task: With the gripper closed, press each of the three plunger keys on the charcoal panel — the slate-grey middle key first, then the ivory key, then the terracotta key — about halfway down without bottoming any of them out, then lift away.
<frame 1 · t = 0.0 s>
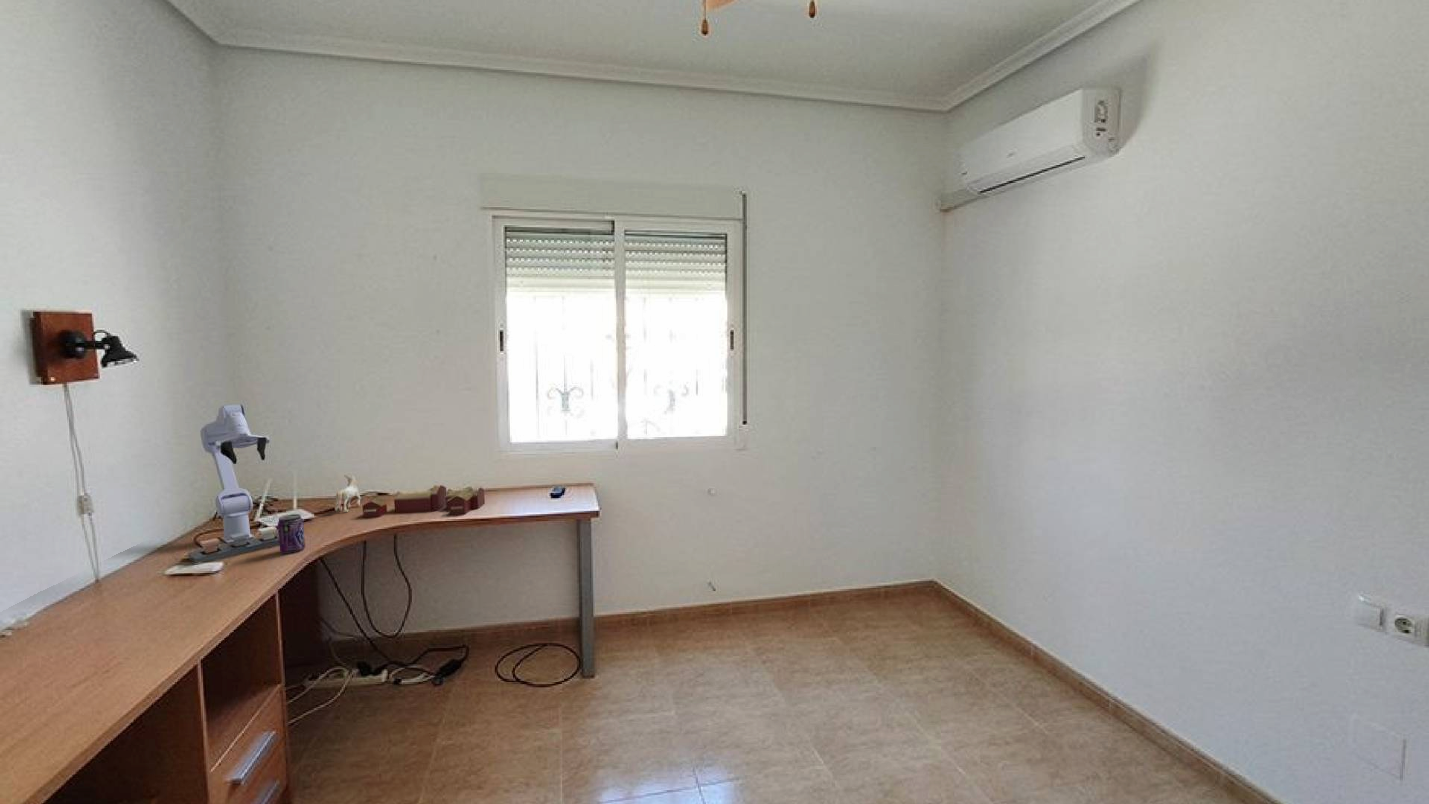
hand: (249, 460, 201), 32 cm above the table, tool tilted 50°, fingers open, 7 cm apart
terracotta key: (210, 545, 201), point 4 cm above the table, slide at 0.0 cm
beverage can: (293, 551, 206), on the table
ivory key: (267, 533, 213), point 4 cm above the table, slide at 0.0 cm
toy houses: (424, 511, 253), on the table
grey key: (239, 539, 207), point 4 cm above the table, slide at 0.0 cm
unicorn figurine: (343, 509, 259), on the table
panel: (240, 550, 208), on the table
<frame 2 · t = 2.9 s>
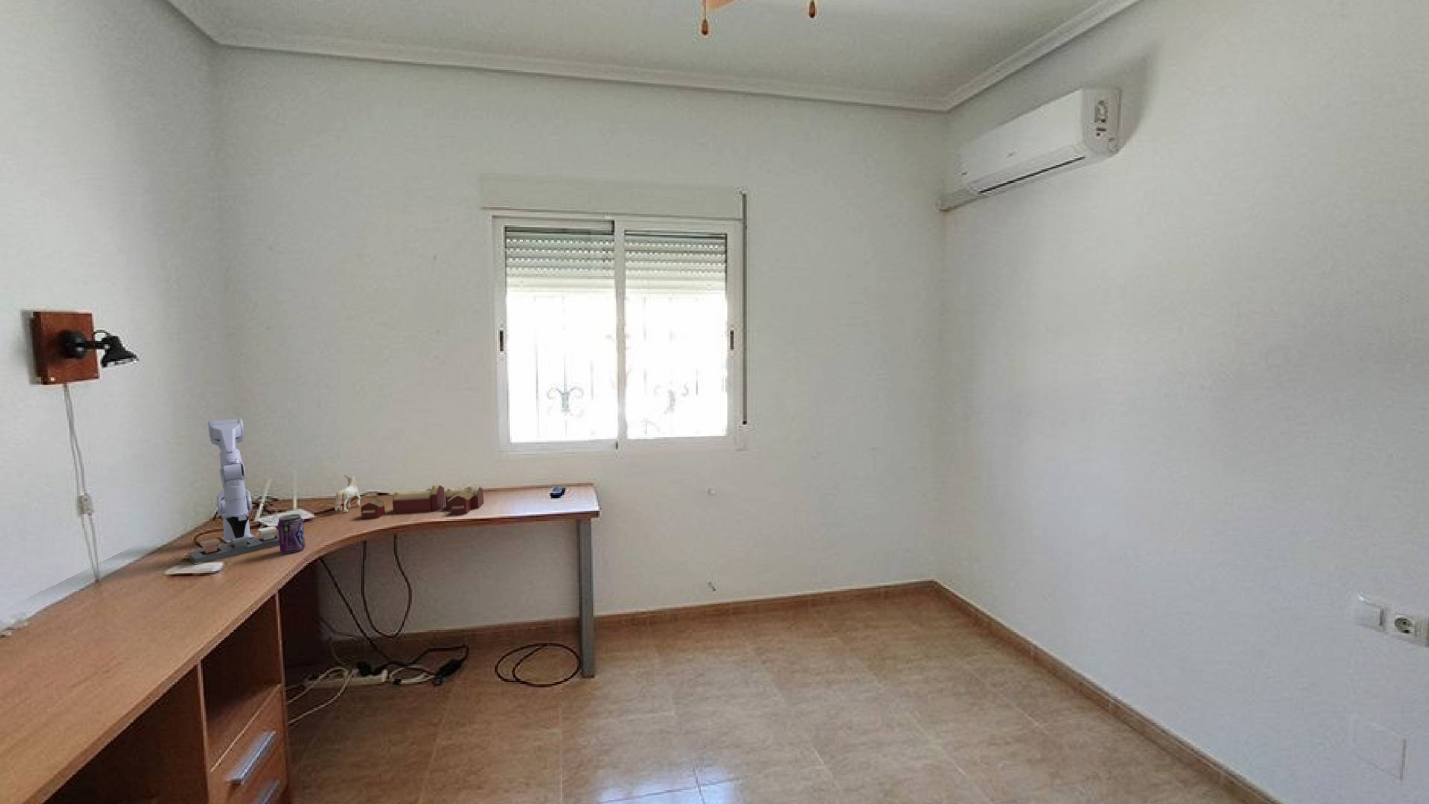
hand: (239, 537, 207), 5 cm above the table, tool pointing down, fingers closed, pressing on grey key
grey key: (240, 542, 207), point 3 cm above the table, slide at 0.9 cm, touching gripper
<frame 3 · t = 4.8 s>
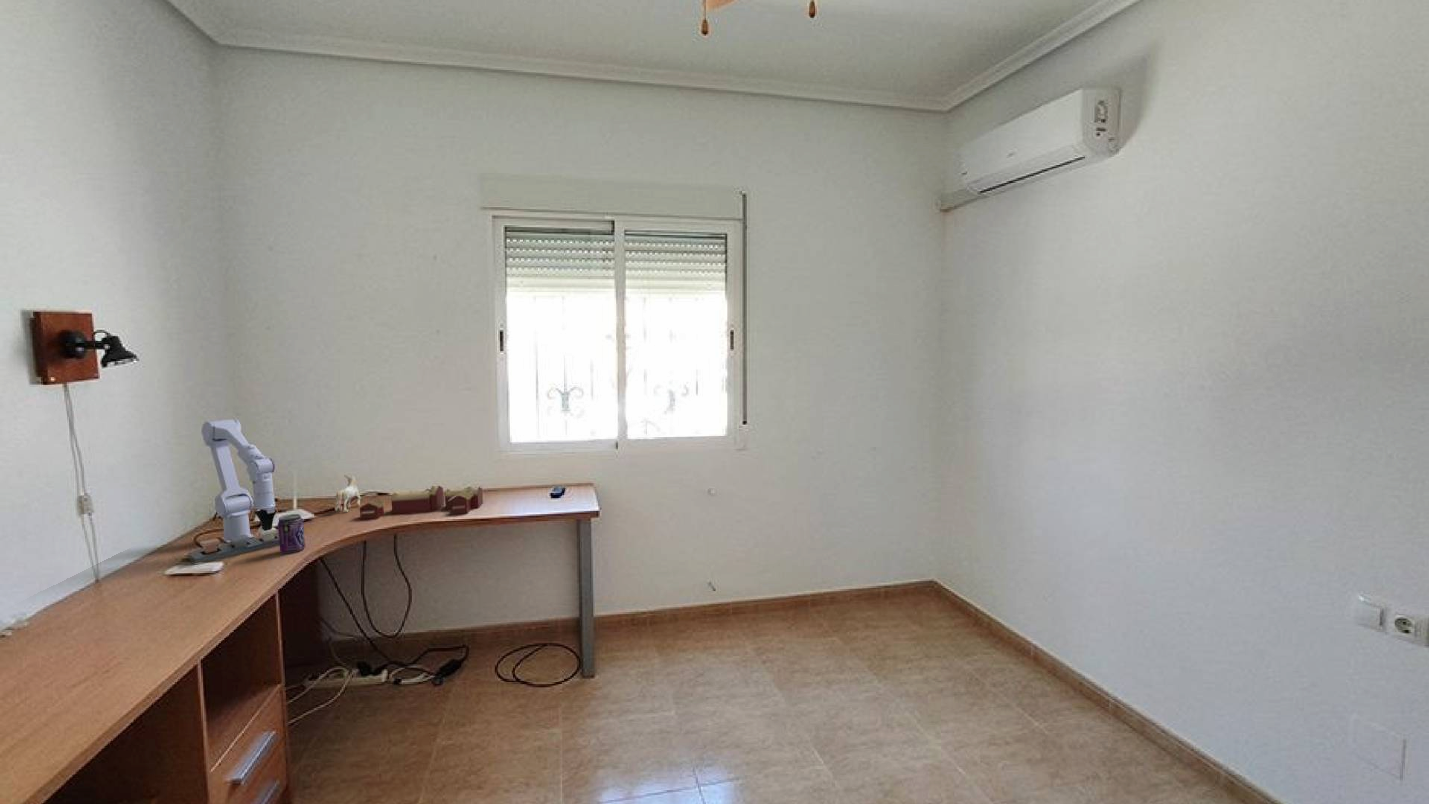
hand: (267, 529, 213), 5 cm above the table, tool pointing down, fingers closed, pressing on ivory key
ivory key: (267, 534, 213), point 4 cm above the table, slide at 0.4 cm, touching gripper
grey key: (240, 542, 207), point 3 cm above the table, slide at 0.9 cm
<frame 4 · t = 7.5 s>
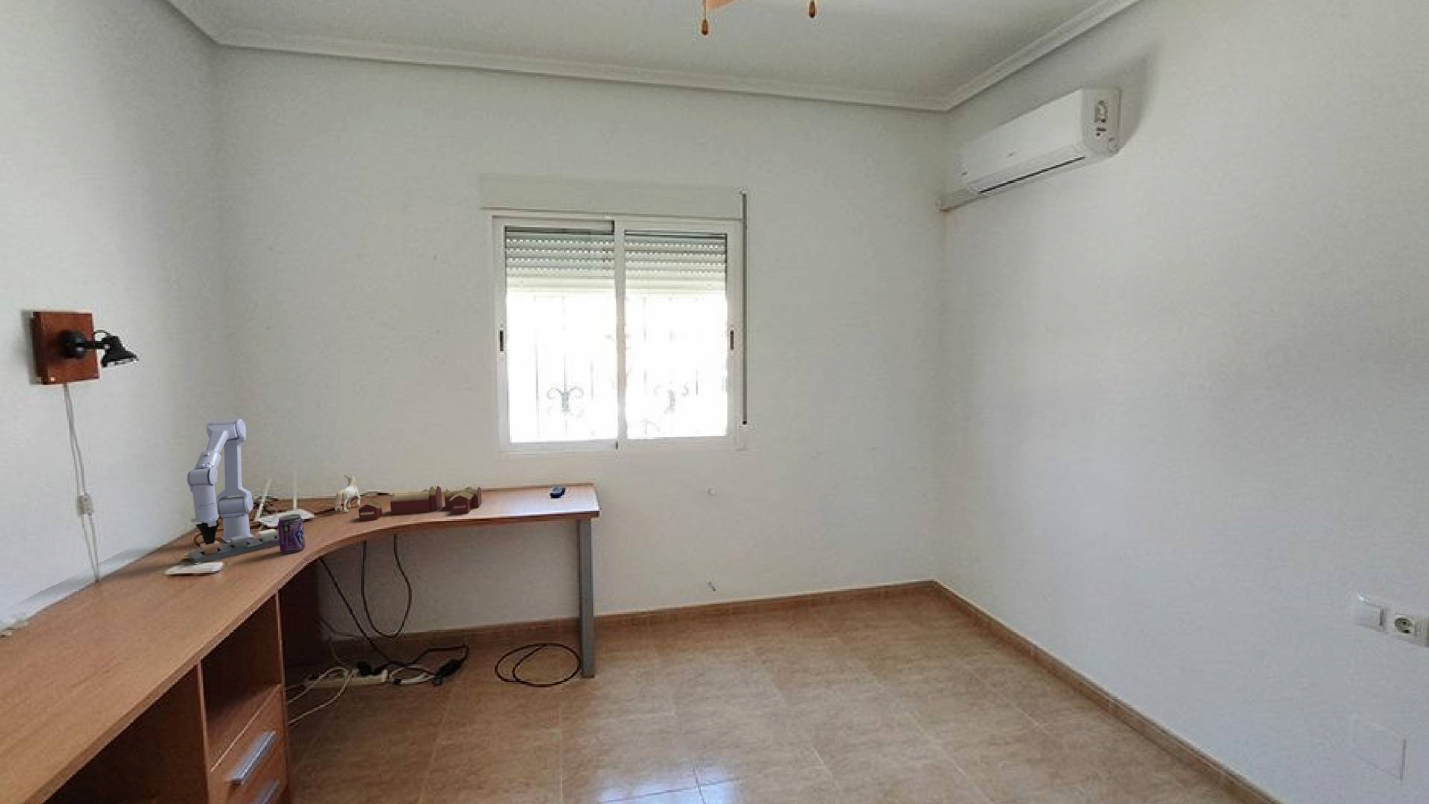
hand: (209, 543, 201), 5 cm above the table, tool pointing down, fingers closed, pressing on terracotta key
terracotta key: (210, 548, 201), point 3 cm above the table, slide at 0.9 cm, touching gripper
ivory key: (268, 536, 214), point 3 cm above the table, slide at 1.0 cm
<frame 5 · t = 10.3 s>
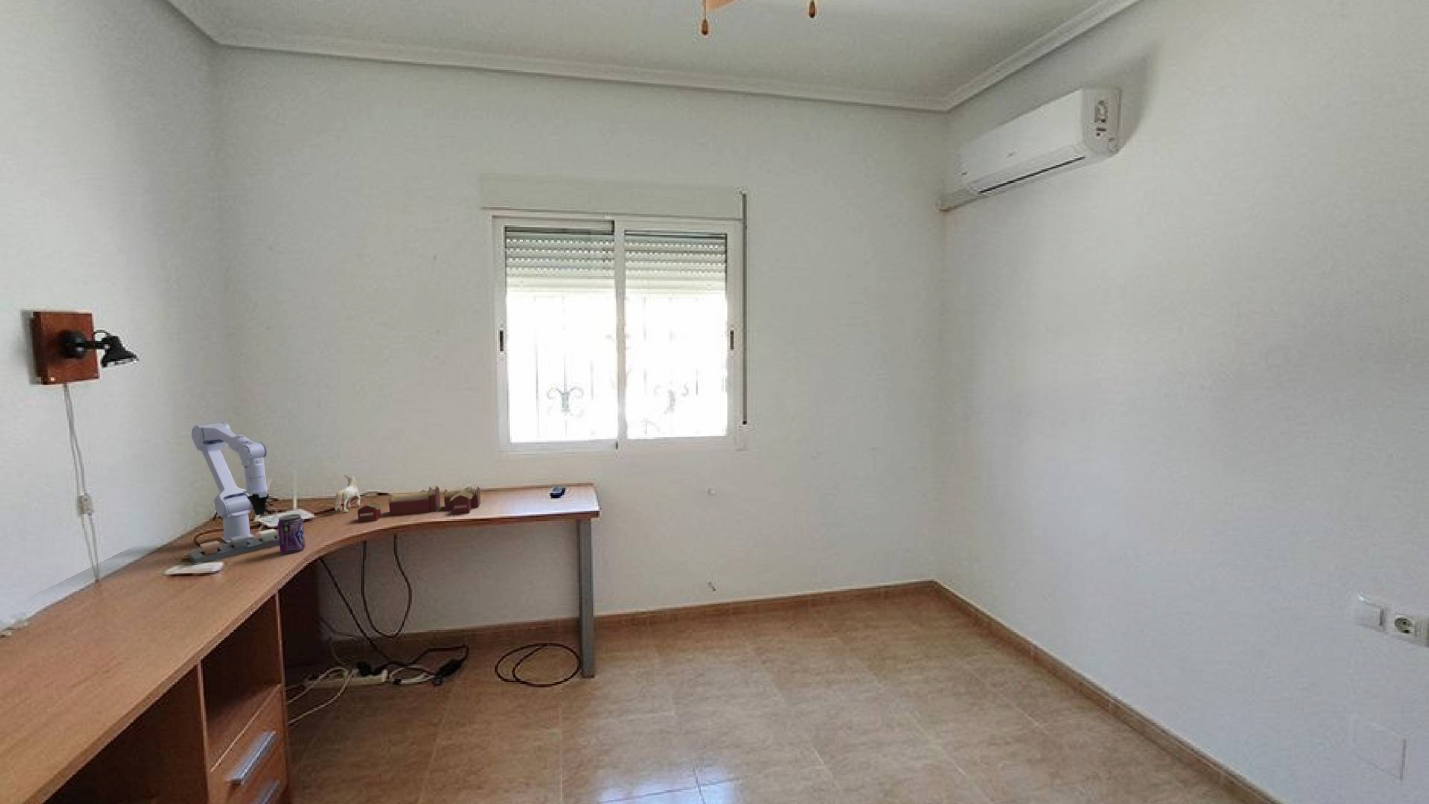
hand: (259, 514, 214), 10 cm above the table, tool pointing down, fingers closed
terracotta key: (210, 548, 201), point 3 cm above the table, slide at 0.9 cm
at the end: grey key slide at 0.9 cm; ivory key slide at 1.0 cm; terracotta key slide at 0.9 cm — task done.
